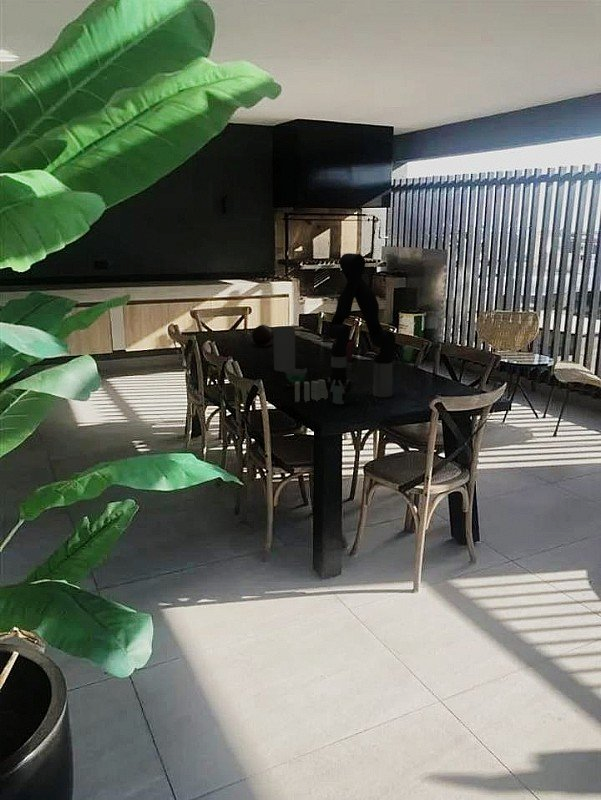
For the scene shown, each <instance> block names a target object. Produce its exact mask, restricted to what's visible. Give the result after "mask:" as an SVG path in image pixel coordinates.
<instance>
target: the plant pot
mask: <svg viewBox="0 0 601 800" xmlns="http://www.w3.org/2000/svg"><path fill="white" fill-rule="evenodd" d="M336 341H337V338H335V339H333V340H332V345H333V344H334V343H336ZM354 348H356V340H355V339H351V338H349V340H348V344H347V347H346V358H347V363H348V362H351V361H352V357H353V353H354Z"/></svg>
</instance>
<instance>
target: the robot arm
mask: <svg viewBox="0 0 601 800" xmlns="http://www.w3.org/2000/svg"><path fill="white" fill-rule="evenodd" d="M339 266H340V270H341V271H342V273H343V275H344V276H345V279H346V281H347V282H346V285H345V286H344V288H343V290H342V291H341V293H340V295H339V297H338V299H337V304H336V309H335V312H334V315H333V316H332V319H331V322H330V323H329V326H328V333H329V335H330V336H331V337H332V338H335V339H337V341H336V343H334V344H333V343H332V345H331V359H330V377H325V378H324V380H325V383H326V388H327V390H328V392H330V399H331V400H333V389H334V386H340V387H341V389H342V392H343V393H342V401H344V402H345V400H347V393H349V392H351V390H352V385H353V383H354V382H353V379H348V377H347V374H348V373H347V371H348V368H347V366H348V362H347V358H346V347H347V344H348V340H349V339H350V337H351V336H350V335H351V331H350V328H349V326H348V325H347V324H344V322H345V321H346V320H348V319H349V318H350V317H351V312H352V309H353V303H354V299H355V300H356V301H355V302H356V303H357V306H358V308H359V310H360V312H361V315H362V317H363V319H364V323H365V325H366V327H367V330H368V334H369V338H370V341H371V343H372V344H373V346H375V347H376V348H379V353H378V354H376V355H374V357H373V383H372V384H373V385H372V386H373V387H372V396H374V397H376V396H377V398H388V397H389V398H390V397H391V398H392V397H393V365H394V364H393V363H394V361H393V360H394V357H395V354H396V353H395V352H396V340H397V339H396V334H395V333H394V331H392V330H387V329H384V328H383V327H382V324H381V321H380V320H379V313H380V304H379V302H378V299H377V297H376V294H375V293H374V290H373V289H372V288H371V287H370V286H369V285H368V284H367V282H366V281H365V280H364V278H362V276H363V275H364V271H365V267H366V258H365V257H364V255H363V254H361V253H352V252H351V253H350V252H349V253H344V254H342V255H341V257H340V259H339ZM346 384H347V385H346ZM343 385H344V387H343Z"/></svg>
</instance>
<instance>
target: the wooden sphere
mask: <svg viewBox="0 0 601 800" xmlns="http://www.w3.org/2000/svg"><path fill="white" fill-rule="evenodd" d="M252 340H253V342H254V343H255V344H256V345H257V346H259V347H268V346H270V345H271V344H272V343H273V342H274V335H273V329H272V327H270V326H269V325H266V324H259V325H258V326H256V327H255V328H254V330H253V331H252Z"/></svg>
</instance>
